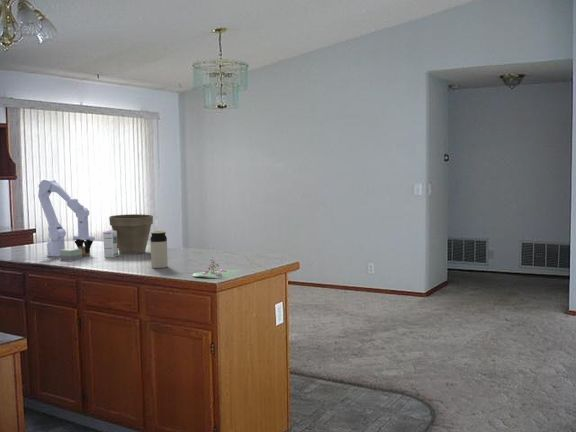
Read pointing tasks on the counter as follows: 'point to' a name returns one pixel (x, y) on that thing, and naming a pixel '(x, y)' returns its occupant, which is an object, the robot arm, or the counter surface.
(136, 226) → the plant pot
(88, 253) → the walnut block
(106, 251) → the syrup box
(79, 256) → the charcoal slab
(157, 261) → the travel mug
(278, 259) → the counter surface
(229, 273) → the plant
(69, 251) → the sage slab
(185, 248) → the counter surface
